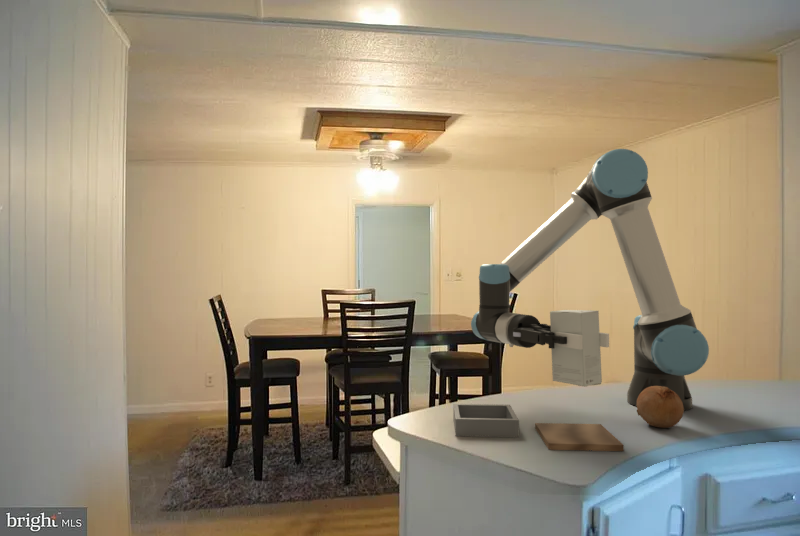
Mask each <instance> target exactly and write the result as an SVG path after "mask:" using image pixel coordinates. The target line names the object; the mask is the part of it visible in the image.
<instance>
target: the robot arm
mask: <svg viewBox="0 0 800 536" xmlns="http://www.w3.org/2000/svg"><path fill="white" fill-rule="evenodd" d="M648 178H649V168H648V165H647V162H646V161H645V160H644V158H643V156H641V155H640V154H639V153H638V152H636V151H633V150H631V149H628V148H616V149H613V150H608V152H605V153H604V154H602V155H601V156H599V157H598V158H597V159H596V160H595V162H594V164H593V165H592V168H591V169H590V170H589V172H588V173H587V175H586V176H585V177H584V179H583V181H582V182H581V183H580V184H579V185H578V186H577V188H576V189H575V190H573V191H572V192H571V193H570V198H569V199H568V201H567V202H566V203H564V205H563V206H561V207H560V208H559V209H558V210H557V211H556V212H555V213H553V215H552V216H550V217H549V218H548V220H546V221H545V222H544V223H543V224H541V226H540V227H538V228H537V229H536V230H535V231H533V233H532V234H531V235H530V236H528V238H526V239H525V240H524V241H523V242H522V243H521V244H520V245H519V246H518V247H516V248H515V250H513V251H512V252H511V253H510V254H509V255H508V256H506V258H504V260H502V261H501V262H500V263H487V264H485V263H484V264H481V265H480V266H479V273H478V274H479V275H478V280H479V281H478V286H479V290H478V292H479V293H478V294H479V305H478V306H479V307H478V311H476V313H474V315H473V317H472V320H471V321H470V325H471V330H472V333H473V334H474V335H475V336H476V337H478V338H479V339H481V340H485V341H487V342H495V343H500V344H504V345H505V344H506V345H508V346H509V348H513V347H514V346H516V347H521V348H526V349H527V348H529V349H531V348H533V347H535V346H536V345H540V346H545V345H548V349H551V348H555V343H556V346H562V347H568V348H574V349H579V350H580V349H583V335H577V334H570V333H563V332H556V335H555V333H554V332H551V324H547V323H541V322H540V320H539V319H538V318H537V317H535V316H534V315H529V314H525V313H524V314H523V313H516V312H515V313H514V312H510V295H511V294H510V292H512V291H513V290H514V289H515V288H517V287H518V286H519V284H520V283H522V281H523V280H525V279H526V278H527V277H529V275H530V274H531V273H533V272H534V271H535V270H536V269H537V268H538V267H539V266H540V265H542V264H543V263H545V261H546V260H547V259H549V257H551V256H552V255H553V254H554V253H555V252H556V251H558V250H559V249H560V248H561V247H562V246H563V245H564V244H565V243H566V242H567V241H568V240H570V239H571V238H572V237H573V236H574V235H575V234H576V233H577V232H579V231H580V230H581V229H582V228H583V227H584V226H585V225H587V223H589V221H591V220H598V219H599V218H600V217H601V216H603V217H605V218H607V219H609V220H610V223H611V225H612V226H611V227H612V228H613V229H612V230H613V232H614V235H615V237H616V241H617V244H618V247H619V249H620V252H621V253H620V254H621V255H622V259H623V262H624V264H625V267H626V270H627V273H628V276H629V280H630V282H631V285H632V289H633V291H634V295H635V297H636V300H637V304H638V306H639V309H640V312H641V314H639V315H636V316H635V318H634V322H633V328H632V330H633V349H634V350H633V351H634V352H633V355H634V356H633V359H634V363H633V364H634V369H633V371H634V372H633V376H632V378H631V381H630V384H629V387H628V390H627V394H626V396H627V397H626V398H627V403H629V404H630V405H632V406H636V407H637V405H636V404H637V398H638V396H639V394H640V393H641V392H642V391H643V390H644V389H646V388H648V387H651V386H662V387H668V388H669V389H670V390H672V391H674V392H675V393H676V394H677V395H678V396H679V397H680V399H681V401H682V403H683V407H684V411H688V410H691V409H693V398H692V395H691V394H692V393H691V391H690V389H689V386H688V383H687V380H686V377H685V376H689V375H692V374H695V373H696V372H698V371H699V370H700V369H701V368H703V366H704V365H705V364H706V362H707V360H708V358H709V355H710V354H709V353H710V348H709V347H710V346H709V343H708V340H707V339H706V337H705V335H704V334H703V333H702V331H700V330H699V328H697V325H696V322H695V319H694V317H693V314H692V311H691V309H689V308H688V307H685V306H683V305H682V304H681V301H680V299H679V295H678V293H677V289H676V287H675V283H674V281H673V277H672V275H671V272H670V268H669V266H668V263H667V260H666V256H665V255H664V252H663V248H662V246H661V243H660V240H659V235H658V234H657V230H656V228H655V225H654V222H653V219H652V217H651V213H650V209H649V204H650V203H651V202H652V200H653V197H652V195H651V194H652V193H651V191H650V188H649V185H648ZM600 348H610V333H606V332H600Z"/></svg>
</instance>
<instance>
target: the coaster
mask: <svg viewBox="0 0 800 536" xmlns="http://www.w3.org/2000/svg"><path fill="white" fill-rule="evenodd" d="M534 429H535V431H536V432H537V434H538V435H539V437H540V439H541V440H542V441H543V443H544V445H545V446H546V448H547V449H548V451H549V450H551V451H555V450H556V451H589V450H590V451H591V450H592V451H595V452H596V451H598V452H624V451H625V449H624V447H625V446H624V443H622V442H621V441H620V440H619V439H618V437H616V436H615V435H613V434H612V433H611V432H610V430H608V429H607V428H606V427H605V426H603V424H601V423H565V422H564V423H560V422H559V423H558V422H557V423H555V422H554V423H553V422H535V423H534Z"/></svg>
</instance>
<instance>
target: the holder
mask: <svg viewBox="0 0 800 536" xmlns="http://www.w3.org/2000/svg"><path fill="white" fill-rule="evenodd" d="M452 408H453V419H452V420H453V426H454V434H455V436H456V437H491V438H492V437H494V438H495V437H496V438H498V437H499V438H500V437H501V438H519V437H520V426H519V425H520V423H519V422H520V419H519V418H518V416H517V414H516V412H515V410H514V409H513V407H512V405H511V404H493V403H492V404H491V403H490V404H489V403H483V404H481V403H453V407H452Z"/></svg>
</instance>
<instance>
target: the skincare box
mask: <svg viewBox="0 0 800 536" xmlns="http://www.w3.org/2000/svg"><path fill="white" fill-rule="evenodd" d="M599 315H600V313H599V310H591V309H590V310H589V309H587V310H586V309H561V310H559V309H558V310H551V311H550V312H549V319H550V320H549V322H550V324H549V325H551V332H554V333H555V335H556V332H563V333H570V334H577V335H583V349H580V350H579V349H574V348H568V347H562V346H556V343H555V348H550V349H551V366H552V367H551V370H552V373H551V375H552V382H559V383H563V384H569V385H573V386H579V387H589V386H597V385H601V384H602V382H603V381H602V380H603V378H602V360H601V359H602V357H601V355H602V354H601V353H602V352H601V346H600V333H601V332H600V316H599Z"/></svg>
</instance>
